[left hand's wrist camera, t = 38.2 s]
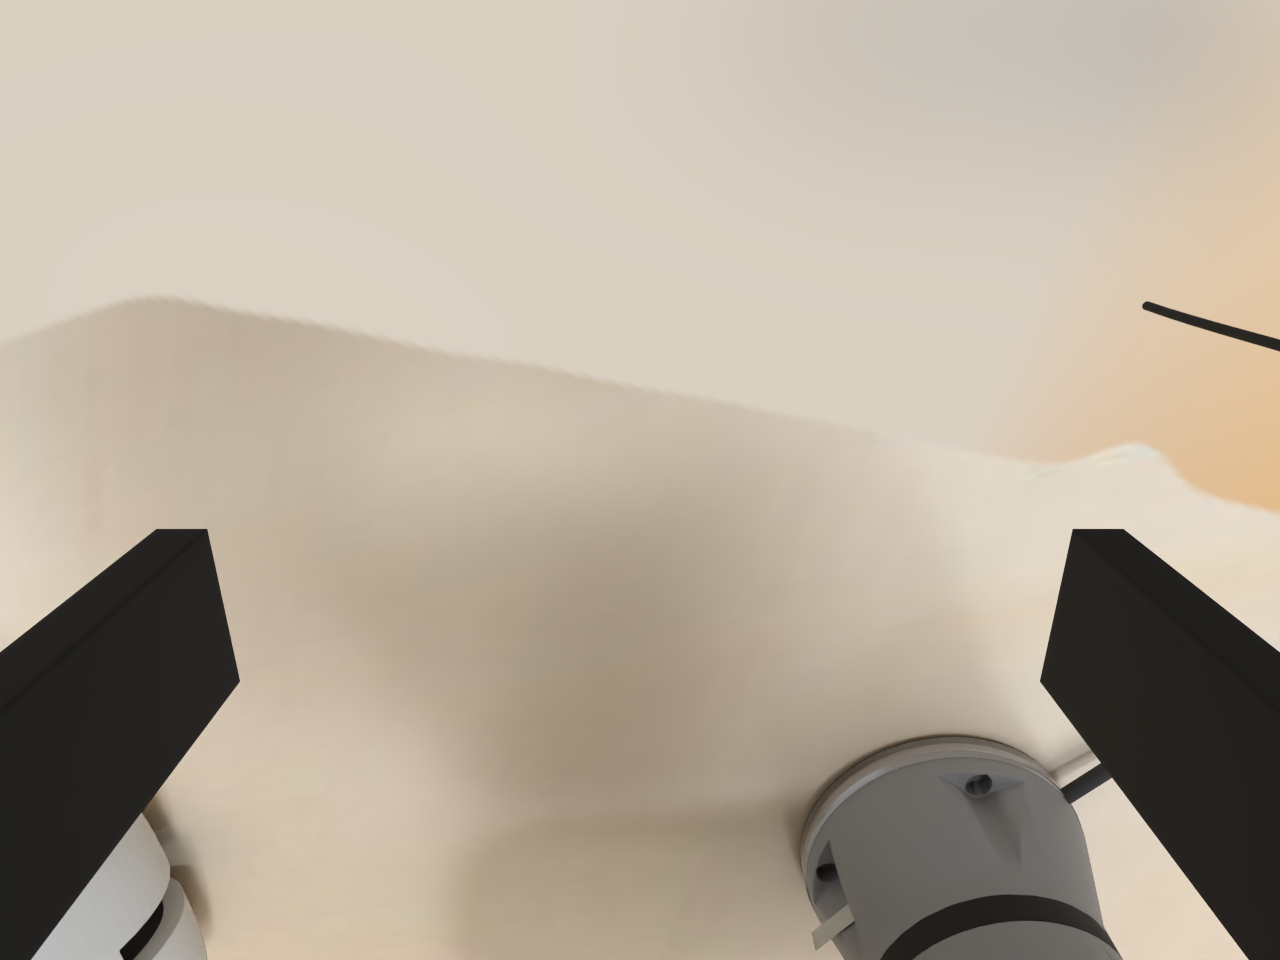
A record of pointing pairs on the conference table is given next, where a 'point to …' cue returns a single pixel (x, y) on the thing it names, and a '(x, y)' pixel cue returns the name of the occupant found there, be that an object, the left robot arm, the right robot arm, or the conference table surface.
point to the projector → (129, 909)
